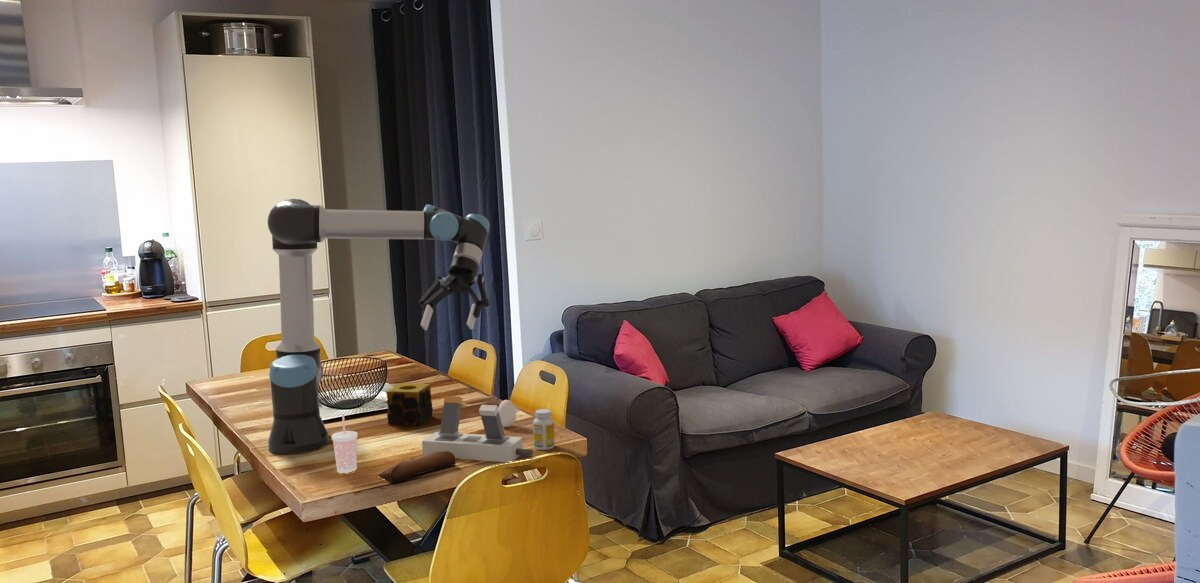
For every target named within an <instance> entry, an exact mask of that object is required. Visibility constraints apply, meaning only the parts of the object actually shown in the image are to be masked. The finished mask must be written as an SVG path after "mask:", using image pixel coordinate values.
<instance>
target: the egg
mask: <svg viewBox="0 0 1200 583" xmlns="http://www.w3.org/2000/svg"><path fill="white" fill-rule="evenodd" d="M498 410H499V415H500V419H501V423H502V426H503V428H509V427H511V426H513V425H514V423H515V422H516V419H517V408H516V406H515V405H514V404H513V402H512V401H511V400H509V399H504V400H502V401H501V402H500V403H499V406H498Z"/></svg>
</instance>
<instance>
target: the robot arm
mask: <svg viewBox="0 0 1200 583" xmlns="http://www.w3.org/2000/svg"><path fill="white" fill-rule="evenodd" d="M267 227H268V230H269V232H270V235H271V239H272V241H271V242H272V250H273V251H274V253H276V254H277V255H278V268H279V272H278V273H279V297H280V298H279V299H280V301H279V302H280V326H281V327H280V330H281V342H280V343H279V344H278V345H277V346H276V348H275V349H276V350H275V353H276V356H275V357H276V359H274V360H273V361H272V362H271V363H270V366H269V372H268V373H269V375H268V376H269V379H270V387H271V388H270V389H271V401H272V415H273V420H272V421H273V422H272V426H271V429H270V431H269V432H270V434H269V438H268V442H267V443H268V450H269V451H270V452H271V453H274V454H278V455H295V454H304V453H309V452H312V451H313V452H314V451H316V450H319V449H322V448H324V447H326V446H327V445H328V444H329V434H328V430H327V428H326V426H325V423H324V422H323V419H322V417H321V413H320V399H319V384H320V382H321V380H322V376H323V372H324V371H323V370H324V369H323V364H322V362H321V345H320V344H319V343H318V342H316V340H315V319H314V315H315V314H314V289H313V288H314V287H313V283H314V282H313V257H312V256H313V254H314V253H315V252H316V251H317V250H318V243H323V242H324V241H325V240H327V239H341V240H342V239H343V240H344V239H345V240H346V239H349V240H351V239H357V240H358V239H359V240H363V239H364V240H368V239H369V240H434V241H435V240H437V241H441V242H445V241H450V242H453V243H455V244H457V245H456V247H455V251H454V253H453V256H452V260H451V264H450V266H449V269H448V270H449V271H448V276H446V277H442V276H441V275H439V274H438V275H437V276H436V278H435V281H434V282H433V284H431V285H430V287H429V288H428V289H427V290H426V292H425V293H424V294H423V295H422V296H421V298H420V299H419V300H418V304H419V305H420V306H421V308H422V311H421V317H422V318H421V321H420V324H419V325H420V327H421V328H422V330H424V331H428V328H429V325H430V322H431V318H432V316H433V312H434V309H433V308H434V307H435V306H436V305H437V304H438V303H440V302H441V301H442V300H443V299H444V298H446V297H447V296H450V295H451V294H453V293H454V294H457V293H465V292H466V291H467V292H468V294H469V295H470V297H471V298H472V300H473V301H474V303H472V304H471V308H470V311H469V314H468V318H467V321H466V326H467V327H468V329H469V330H474V327H475V323H476V320H477V319H478V318H480V315H481V312H482V309H483V308H484V307H489V306H490V300H489V297H488V293H487V290H486V286H485V285H486V284H485V283H486V279H485V278H484V275H482V273H479V274H478V271H479V266H480V263H481V261H482V256H483V253H484V251H485V250H484V249H485V246H486V243H487V240H488V237H489V232H490V228H491V226H490V221H489V220H488V218H486V217H485V216H484V215H482V214H479V213H477V214H475V213H469V214H468V215H466V216H465V217H462V216H460V215H457V214H454V213H452V212H450V211H448V210H446V209H443V208H441V207H439V206H434V205H432V204H425V206H424V208H423V210H422V211H421V210H419V211H418V210H373V209H369V210H368V209H331V208H330V209H326V208H325V207H324V206H323V205H320V204H319V205H313V204H310V203H308V202H307V201H305V200H303V199H299V198H298V199H297V198H288V199H285V200H282V201H281V202H278V203H277V204H276V205H274V206H273V207H272V209H271V210H270V211H269V213H268V216H267ZM475 283H476V285H477V286H478V290H479V293H480V297H481V299H479V298H478V296H477V295H476V294H475V291H474V290H473V289H472V286H473V285H474V284H475ZM448 288H449V289H448Z"/></svg>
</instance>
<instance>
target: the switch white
mask: <svg viewBox="0 0 1200 583" xmlns="http://www.w3.org/2000/svg"><path fill="white" fill-rule="evenodd" d="M498 408H499V406H498V405H494V404H491V405H490V404H481V405H480V407H479V409H478V412H479V415H480V418H481V422H482V425H483V428H484V429H483V430H484V432H485V434H484V435H485V438H486V439H495V440H506V436H507V434H505V431H504V426H502V423H501V419H500V415H499V410H498Z"/></svg>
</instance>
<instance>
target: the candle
mask: <svg viewBox="0 0 1200 583" xmlns="http://www.w3.org/2000/svg"><path fill="white" fill-rule="evenodd" d="M431 388H432V386H431V384H430V383H399V384H397V385H395V386H393V387H392V388H390V389H388V390H386V391H385V392H386V393H385V394H386V398H387V400H386V401H387V402H386V404H387V414H386V417H387V425H389V426H415V427H420V426H422V425H423V424H425V423H426V422H427V421H429V420H430V419H431V418H433V410H434V408H433V401H432V394H431V393H432V390H431Z"/></svg>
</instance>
